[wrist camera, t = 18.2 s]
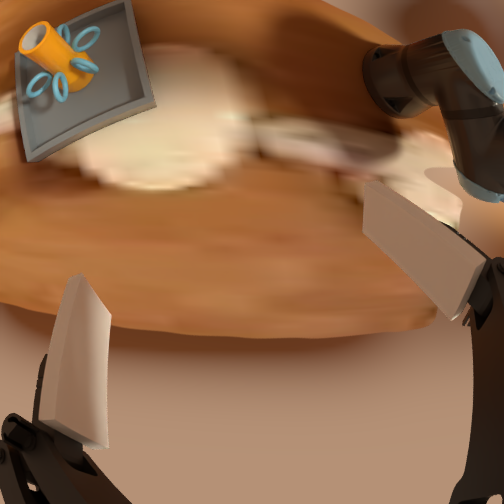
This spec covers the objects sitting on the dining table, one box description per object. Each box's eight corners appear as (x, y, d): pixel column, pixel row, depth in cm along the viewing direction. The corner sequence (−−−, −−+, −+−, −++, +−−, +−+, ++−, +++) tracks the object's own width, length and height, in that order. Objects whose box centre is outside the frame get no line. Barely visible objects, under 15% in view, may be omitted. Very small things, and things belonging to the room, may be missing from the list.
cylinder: (111, 101, 30) (74, 66, 16) (48, 122, 28) (-8, 106, 14) (110, 32, 26) (85, -20, 12) (50, 54, 24) (6, 17, 10)
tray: (132, 6, 25) (129, -5, 22) (156, 107, 32) (154, 101, 29) (24, 59, 23) (14, 53, 19) (38, 161, 30) (27, 162, 26)
